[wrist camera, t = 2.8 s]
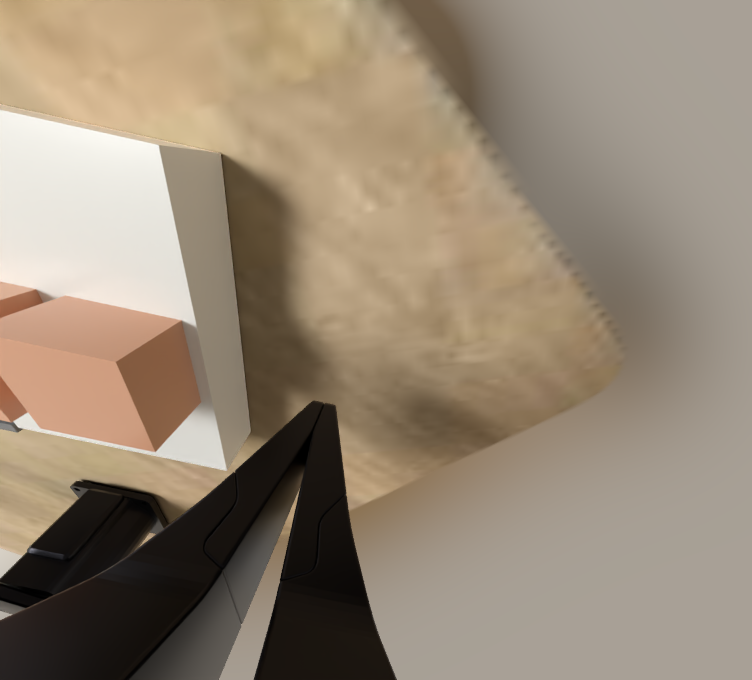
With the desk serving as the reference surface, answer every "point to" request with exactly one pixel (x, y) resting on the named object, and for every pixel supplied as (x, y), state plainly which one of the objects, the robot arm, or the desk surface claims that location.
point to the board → (130, 252)
